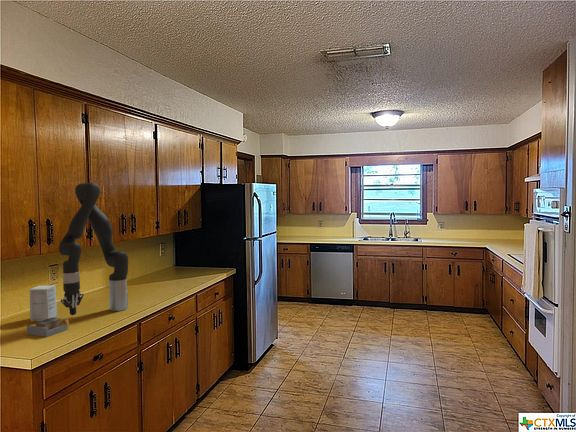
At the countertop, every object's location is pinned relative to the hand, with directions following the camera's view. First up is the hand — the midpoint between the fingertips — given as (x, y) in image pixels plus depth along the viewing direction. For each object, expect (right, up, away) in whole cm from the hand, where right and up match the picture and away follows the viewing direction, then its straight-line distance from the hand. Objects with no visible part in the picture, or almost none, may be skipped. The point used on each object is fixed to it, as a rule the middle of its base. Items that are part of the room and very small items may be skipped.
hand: (73, 314), depth 215 cm
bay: (-5, -5, -13) cm, 15 cm away
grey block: (-5, -5, -14) cm, 15 cm away
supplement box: (-20, -4, +9) cm, 22 cm away
